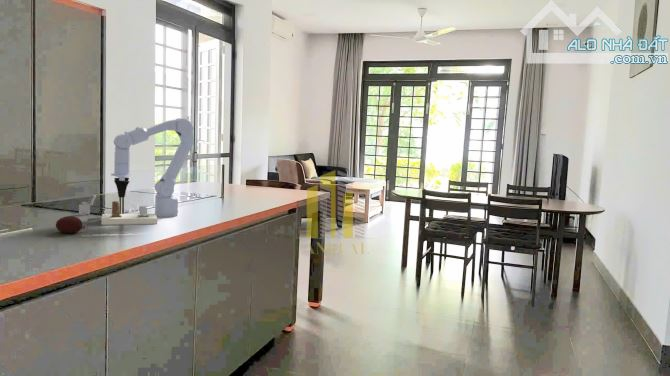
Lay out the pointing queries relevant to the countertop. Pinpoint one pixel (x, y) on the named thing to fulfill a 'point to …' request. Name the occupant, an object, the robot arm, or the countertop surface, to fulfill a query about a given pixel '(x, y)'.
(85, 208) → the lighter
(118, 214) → the walnut pin
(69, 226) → the potato
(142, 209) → the steel pin
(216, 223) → the countertop surface
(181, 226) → the countertop surface
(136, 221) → the hole block
